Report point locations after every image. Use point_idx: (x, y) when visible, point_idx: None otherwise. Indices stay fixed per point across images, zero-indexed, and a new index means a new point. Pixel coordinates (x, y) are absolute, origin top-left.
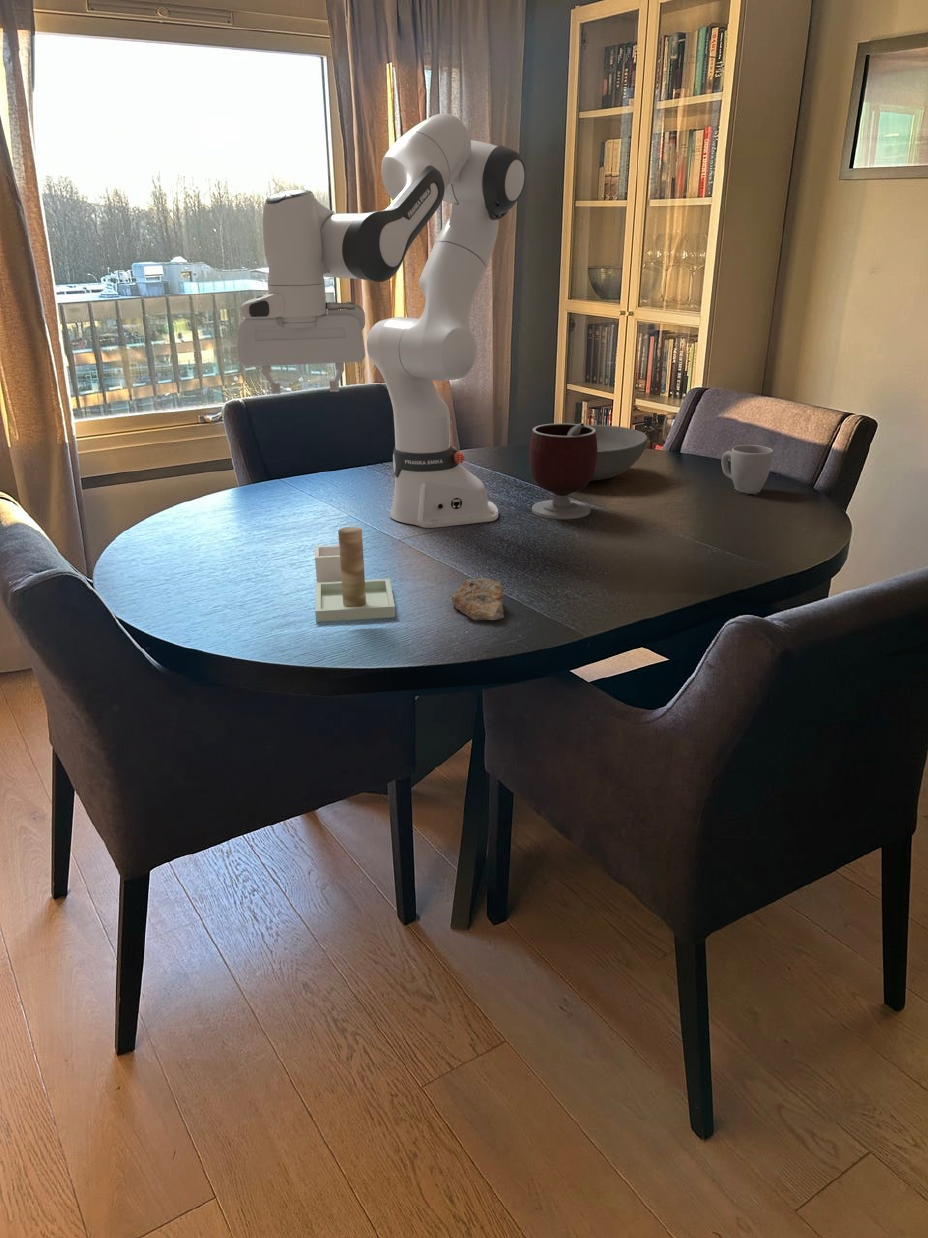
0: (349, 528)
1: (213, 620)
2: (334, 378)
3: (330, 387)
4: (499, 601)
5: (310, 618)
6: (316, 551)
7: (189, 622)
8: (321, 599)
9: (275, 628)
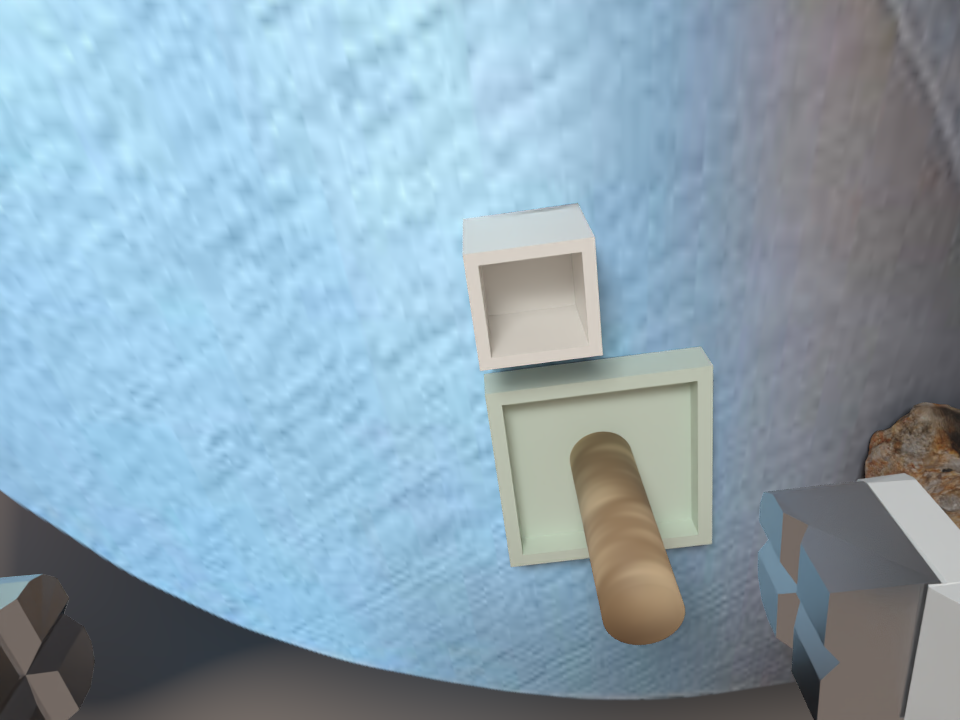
0: (641, 598)
1: (245, 515)
2: (936, 627)
3: (788, 644)
4: None
5: (488, 506)
6: (475, 308)
7: (190, 525)
8: (507, 434)
9: (413, 554)
